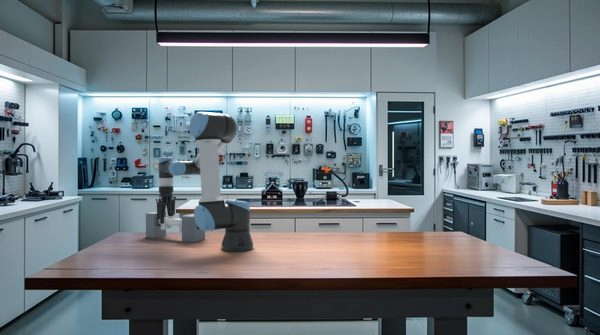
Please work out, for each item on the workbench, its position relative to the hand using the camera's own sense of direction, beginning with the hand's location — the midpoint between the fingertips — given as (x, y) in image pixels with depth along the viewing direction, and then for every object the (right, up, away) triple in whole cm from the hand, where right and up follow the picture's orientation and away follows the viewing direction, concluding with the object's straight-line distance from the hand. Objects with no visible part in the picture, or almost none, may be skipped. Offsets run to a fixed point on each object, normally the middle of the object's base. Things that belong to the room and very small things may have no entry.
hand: (166, 228), depth 227 cm
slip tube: (+5, +2, -2) cm, 5 cm away
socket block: (-6, -5, +3) cm, 8 cm away
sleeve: (+17, -5, -7) cm, 19 cm away
